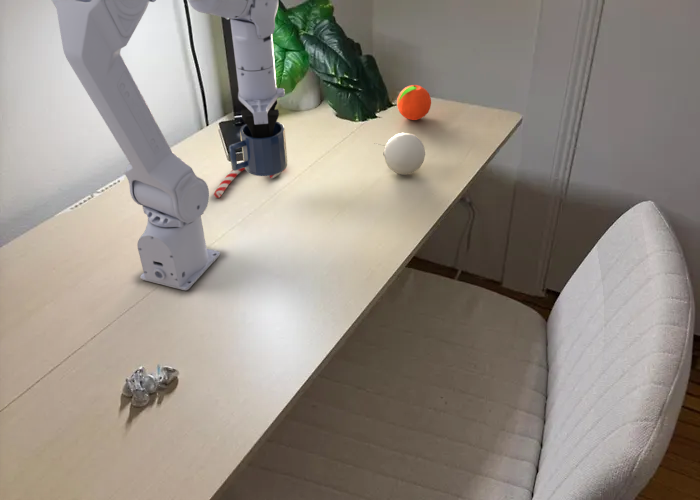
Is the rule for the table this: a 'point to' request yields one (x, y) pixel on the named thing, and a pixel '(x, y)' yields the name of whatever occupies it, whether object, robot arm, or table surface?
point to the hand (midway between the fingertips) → (263, 146)
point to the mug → (261, 152)
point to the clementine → (414, 102)
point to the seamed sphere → (404, 153)
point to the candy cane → (228, 180)
